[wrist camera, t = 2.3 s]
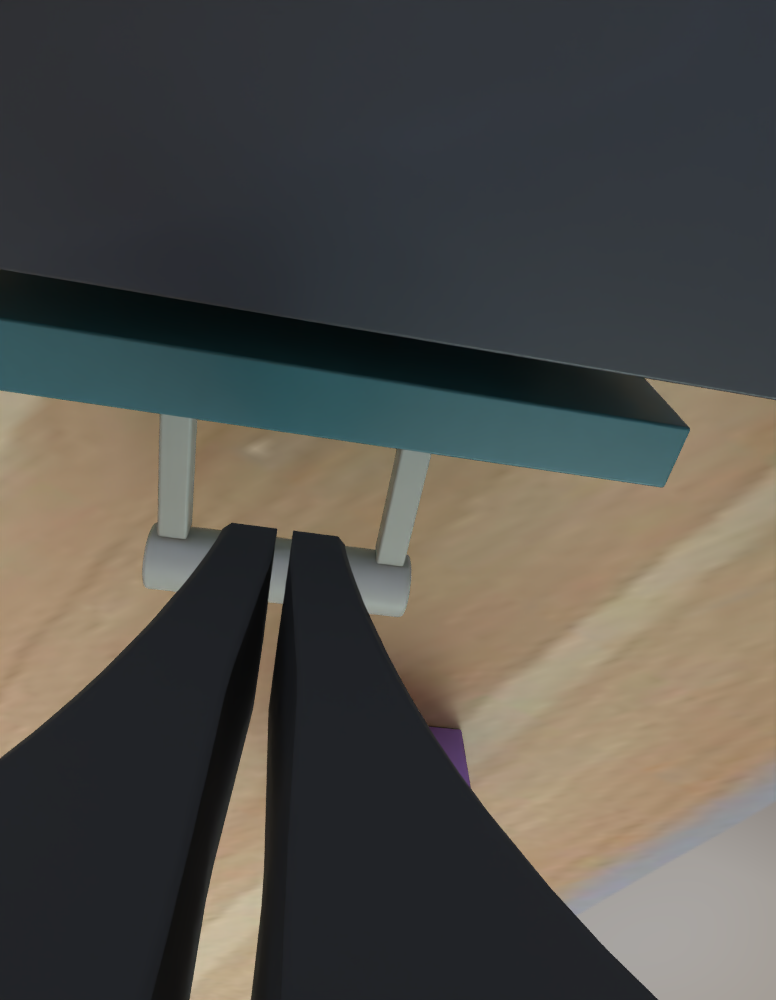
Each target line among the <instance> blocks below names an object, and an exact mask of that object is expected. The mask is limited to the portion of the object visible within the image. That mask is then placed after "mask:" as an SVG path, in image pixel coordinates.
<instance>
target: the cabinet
mask: <svg viewBox="0 0 776 1000" xmlns="http://www.w3.org/2000/svg"><path fill="white" fill-rule="evenodd" d="M0 269H2V270H8V271H14V272H20V273H25V274H31V275H37V276H43V277H49V278H55V279H61V280H67V281H73V282H79V283H85V284H91V285H97V286H103V287H108V288H114V289H120V290H126V291H132V292H138V293H144V294H150V295H156V296H162V297H168V298H174V299H180V300H186V301H192V302H197V303H203V304H209V305H215V306H221V307H227V308H233V309H239V310H245V311H251V312H257V313H263V314H269V315H275V316H280V317H286V318H292V319H298V320H304V321H310V322H316V323H322V324H328V325H334V326H340V327H346V328H352V329H358V330H363V331H369V332H375V333H381V334H387V335H393V336H399V337H405V338H411V339H417V340H423V341H429V342H435V343H441V344H446V345H452V346H458V347H464V348H470V349H476V350H482V351H488V352H494V353H500V354H506V355H512V356H518V357H524V358H529V359H535V360H541V361H547V362H553V363H559V364H565V365H571V366H577V367H583V368H589V369H595V370H601V371H607V372H613V373H618V374H624V375H630V376H636V377H642V378H648V379H654V380H660V381H666V382H672V383H678V384H684V385H690V386H696V387H701V388H707V389H713V390H719V391H725V392H731V393H737V394H743V395H749V396H755V397H761V398H767V399H773V400H776V0H0Z"/></svg>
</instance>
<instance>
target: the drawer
mask: <svg viewBox="0 0 776 1000" xmlns="http://www.w3.org/2000/svg"><path fill="white" fill-rule="evenodd" d="M0 390H1V391H8V392H15V393H21V394H28V395H35V396H42V397H49V398H56V399H62V400H69V401H76V402H83V403H90V404H96V405H103V406H110V407H117V408H124V409H130V410H137V411H144V412H151V413H158V414H160V429H159V480H158V523H155V524H154V525H153V526H152V528H151V530H150V532H149V535H148V538H147V542H146V546H145V552H144V558H143V568H142V577H143V583H144V586H145V587H146V588H148V589H157V590H165V591H174V592H177V591H178V590H179V589H180V588H181V586H182V585H183V584H184V583H185V582H186V580H187V579H188V578H189V577H190V575H191V574H192V573H193V571H194V570H195V569H196V568H197V566H198V565H199V564H200V562H201V561H202V560H203V558H204V557H205V556H206V554H207V553H208V551H209V550H210V548H211V547H212V545H213V544H214V542H215V541H216V539H217V538H218V536H219V534H220V532H221V531H222V530H215V529H207V528H199V527H191V525H192V513H193V493H194V473H195V454H196V434H197V419H199V420H205V421H212V422H219V423H226V424H233V425H239V426H246V427H253V428H260V429H267V430H274V431H280V432H287V433H294V434H301V435H308V436H314V437H321V438H328V439H335V440H342V441H349V442H355V443H362V444H369V445H376V446H383V447H389V448H396V449H397V451H396V456H395V460H394V465H393V470H392V474H391V479H390V483H389V488H388V492H387V497H386V501H385V506H384V511H383V515H382V520H381V524H380V529H379V533H378V538H377V543H376V550H373V549H365V548H357V547H349V546H345V549H346V553H347V557H348V560H349V563H350V566H351V570H352V573H353V575H354V578H355V581H356V584H357V586H358V589H359V591H360V594H361V596H362V599H363V602H364V604H365V606H366V609H367V611H368V613H369V614H376V615H385V616H394V617H400V616H402V615H403V613H404V611H405V609H406V606H407V603H408V598H409V593H410V585H411V561H410V557H409V555H407V550H408V546H409V542H410V538H411V534H412V530H413V526H414V522H415V518H416V514H417V510H418V506H419V502H420V498H421V494H422V490H423V486H424V482H425V478H426V473H427V469H428V465H429V461H430V457H431V454H437V455H444V456H451V457H458V458H464V459H471V460H478V461H485V462H492V463H498V464H505V465H512V466H519V467H526V468H532V469H539V470H546V471H553V472H560V473H567V474H573V475H580V476H587V477H594V478H601V479H607V480H614V481H621V482H628V483H635V484H642V485H648V486H655V487H664V486H665V484H666V482H667V479H668V477H669V475H670V473H671V471H672V469H673V466H674V464H675V462H676V460H677V458H678V455H679V453H680V451H681V449H682V447H683V444H684V442H685V440H686V438H687V436H688V434H689V431H690V428H689V427H688V426H687V424H686V423H685V422H684V421H683V420H682V419H681V418H680V417H679V416H678V415H677V413H676V412H675V411H674V410H673V409H672V408H671V407H670V406H669V405H668V404H667V402H666V401H665V400H664V399H663V398H662V397H661V396H660V395H659V394H658V393H657V392H656V390H655V389H654V388H653V387H652V386H651V385H650V384H649V383H648V382H647V381H646V379H645V378H642V377H636V376H630V375H624V374H618V373H613V372H607V371H601V370H595V369H589V368H583V367H577V366H571V365H565V364H559V363H553V362H547V361H541V360H535V359H529V358H524V357H518V356H512V355H506V354H500V353H494V352H488V351H482V350H476V349H470V348H464V347H458V346H452V345H446V344H441V343H435V342H429V341H423V340H417V339H411V338H405V337H399V336H393V335H387V334H381V333H375V332H369V331H363V330H358V329H352V328H346V327H340V326H334V325H328V324H322V323H316V322H310V321H304V320H298V319H292V318H286V317H280V316H275V315H269V314H263V313H257V312H251V311H245V310H239V309H233V308H227V307H221V306H215V305H209V304H203V303H197V302H192V301H186V300H180V299H174V298H168V297H162V296H156V295H150V294H144V293H138V292H132V291H126V290H120V289H114V288H108V287H103V286H97V285H91V284H85V283H79V282H73V281H67V280H61V279H55V278H49V277H43V276H37V275H31V274H25V273H20V272H14V271H8V270H2V269H0ZM291 543H292V539H286V538H278V537H276V543H275V551H274V558H273V566H272V574H271V582H270V590H269V598H268V602H271V603H280V604H283V600H284V593H285V586H286V578H287V571H288V564H289V557H290V550H291Z"/></svg>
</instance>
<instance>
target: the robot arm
mask: <svg viewBox="0 0 776 1000" xmlns="http://www.w3.org/2000/svg"><path fill="white" fill-rule="evenodd" d="M276 535H277V529H276V528H268V527H260V526H252V525H244V524H237V523H231V524H229V525H228V526H226V527H225V528H223V529H222V531H221V532H220V534H219V536H218V538H217V539H216V541H215V542H214V544H213V545H212V547H211V548H210V550H209V551H208V553H207V554H206V556H205V557H204V558H203V560H202V561H201V562H200V564H199V565H198V566H197V568H196V569H195V570H194V571H193V573H192V574H191V575H190V577H189V578H188V579H187V580H186V582H185V583H184V584H183V585H182V586H181V588H180V589H179V590H178V591H177V592H176V593H175V595H174V596H173V597H172V598H171V599H170V600H169V602H168V603H167V604H166V605H165V606H164V607H163V609H162V610H161V611H160V612H159V613H158V614H157V616H156V617H155V618H154V619H153V620H152V621H151V622H150V623H149V624H148V625H147V627H146V628H145V629H144V630H143V631H142V632H141V633H140V634H139V635H138V636H137V637H136V638H135V639H134V640H133V641H132V642H131V643H130V644H129V645H128V646H127V647H126V648H125V649H124V650H123V651H122V652H121V653H120V654H119V655H118V656H117V657H116V658H115V659H114V660H113V661H112V662H111V663H110V664H109V665H108V666H107V667H106V668H105V669H104V670H103V671H102V672H101V673H100V674H99V675H98V676H97V677H96V678H95V679H94V680H93V681H91V682H90V683H89V684H88V685H87V686H86V687H85V688H84V689H83V690H82V691H81V692H79V693H78V694H77V695H76V696H75V697H74V698H73V699H72V700H71V701H69V702H68V703H67V704H66V705H65V706H64V707H62V708H61V709H60V710H59V711H58V712H57V713H55V714H54V715H53V716H52V717H51V718H50V719H49V720H47V721H46V722H45V723H44V724H43V725H42V726H40V727H39V728H38V729H37V730H35V731H34V732H33V733H32V734H31V735H29V736H28V737H27V738H25V739H24V740H23V741H22V742H20V743H19V744H18V745H17V746H15V747H14V748H13V749H11V750H10V751H9V752H8V753H6V754H5V755H4V756H3V757H1V758H0V1000H189V999H190V993H191V987H192V981H193V975H194V968H195V962H196V956H197V950H198V944H199V938H200V932H201V926H202V920H203V914H204V908H205V902H206V898H207V893H208V888H209V884H210V879H211V874H212V869H213V865H214V861H215V857H216V853H217V849H218V845H219V841H220V837H221V833H222V829H223V825H224V821H225V817H226V813H227V810H228V806H229V802H230V798H231V794H232V790H233V786H234V782H235V778H236V774H237V770H238V766H239V762H240V758H241V754H242V750H243V746H244V742H245V738H246V734H247V730H248V726H249V722H250V718H251V714H252V710H253V706H254V699H255V692H256V685H257V679H258V672H259V665H260V658H261V651H262V644H263V637H264V629H265V621H266V614H267V606H268V598H269V590H270V582H271V574H272V566H273V558H274V551H275V543H276ZM251 1000H658V999H657V998H656V997H655V996H654V995H653V994H652V993H651V992H650V991H649V990H648V989H647V988H646V987H645V986H644V985H642V983H640V982H639V981H638V980H637V979H636V978H635V977H634V976H633V975H632V974H631V973H630V972H629V971H628V970H627V969H626V968H625V967H624V966H623V965H622V964H621V963H620V962H619V961H618V960H617V959H616V958H615V957H614V956H613V955H612V954H611V953H610V952H609V951H608V950H607V949H606V948H605V947H604V946H603V945H602V944H601V943H600V942H599V941H598V940H597V939H596V937H595V936H594V935H593V934H592V933H591V932H590V931H589V930H588V929H587V927H586V926H585V925H584V924H583V923H582V922H581V921H580V920H579V919H578V918H577V917H576V915H575V914H574V913H573V912H572V911H571V910H570V909H569V908H568V907H567V906H566V904H565V903H564V902H563V901H562V900H561V899H560V898H559V897H558V896H557V895H556V893H555V892H554V891H553V890H552V889H551V888H550V887H549V886H548V884H547V883H546V882H545V881H544V879H543V878H542V877H541V876H540V875H539V873H538V872H537V871H536V870H535V869H534V867H533V866H532V865H531V864H530V862H529V861H528V860H527V859H526V858H525V856H524V855H523V854H522V853H521V851H520V850H519V849H518V848H517V847H516V845H515V844H514V843H513V842H512V841H511V839H510V838H509V837H508V836H507V834H506V833H505V832H504V831H503V830H502V828H501V827H500V826H499V825H498V824H497V822H496V821H495V820H494V819H493V817H492V816H491V815H490V814H489V813H488V811H487V810H486V809H485V807H484V806H483V805H482V803H481V802H480V800H479V799H478V798H477V796H476V795H475V794H474V792H473V791H472V789H471V788H470V787H469V785H468V784H467V783H466V781H465V780H464V778H463V777H462V776H461V774H460V773H459V772H458V770H457V769H456V767H455V766H454V764H453V763H452V761H451V760H450V758H449V757H448V755H447V754H446V752H445V751H444V750H443V748H442V747H441V745H440V744H439V742H438V741H437V739H436V738H435V736H434V734H433V733H432V731H431V730H430V728H429V726H428V725H427V723H426V722H425V720H424V718H423V717H422V715H421V713H420V712H419V710H418V708H417V707H416V705H415V703H414V702H413V700H412V698H411V696H410V695H409V693H408V691H407V689H406V687H405V686H404V684H403V682H402V680H401V678H400V677H399V675H398V673H397V671H396V669H395V667H394V665H393V663H392V662H391V660H390V658H389V656H388V654H387V652H386V650H385V648H384V645H383V643H382V641H381V639H380V637H379V635H378V633H377V631H376V629H375V626H374V624H373V622H372V620H371V618H370V616H369V613H368V611H367V609H366V606H365V604H364V602H363V599H362V596H361V594H360V591H359V589H358V586H357V584H356V581H355V578H354V575H353V573H352V570H351V566H350V563H349V560H348V557H347V553H346V549H345V545H344V543H343V542H342V541H341V539H340V538H339V537H338V536H330V535H322V534H315V533H307V532H299V531H293V536H292V543H291V550H290V557H289V564H288V571H287V578H286V586H285V593H284V600H283V607H282V614H281V621H280V628H279V635H278V642H277V650H276V657H275V665H274V672H273V680H272V688H271V695H270V703H269V717H268V750H267V786H266V822H265V857H264V879H263V894H262V908H261V917H260V925H259V934H258V943H257V952H256V961H255V970H254V979H253V987H252V996H251Z"/></svg>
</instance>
